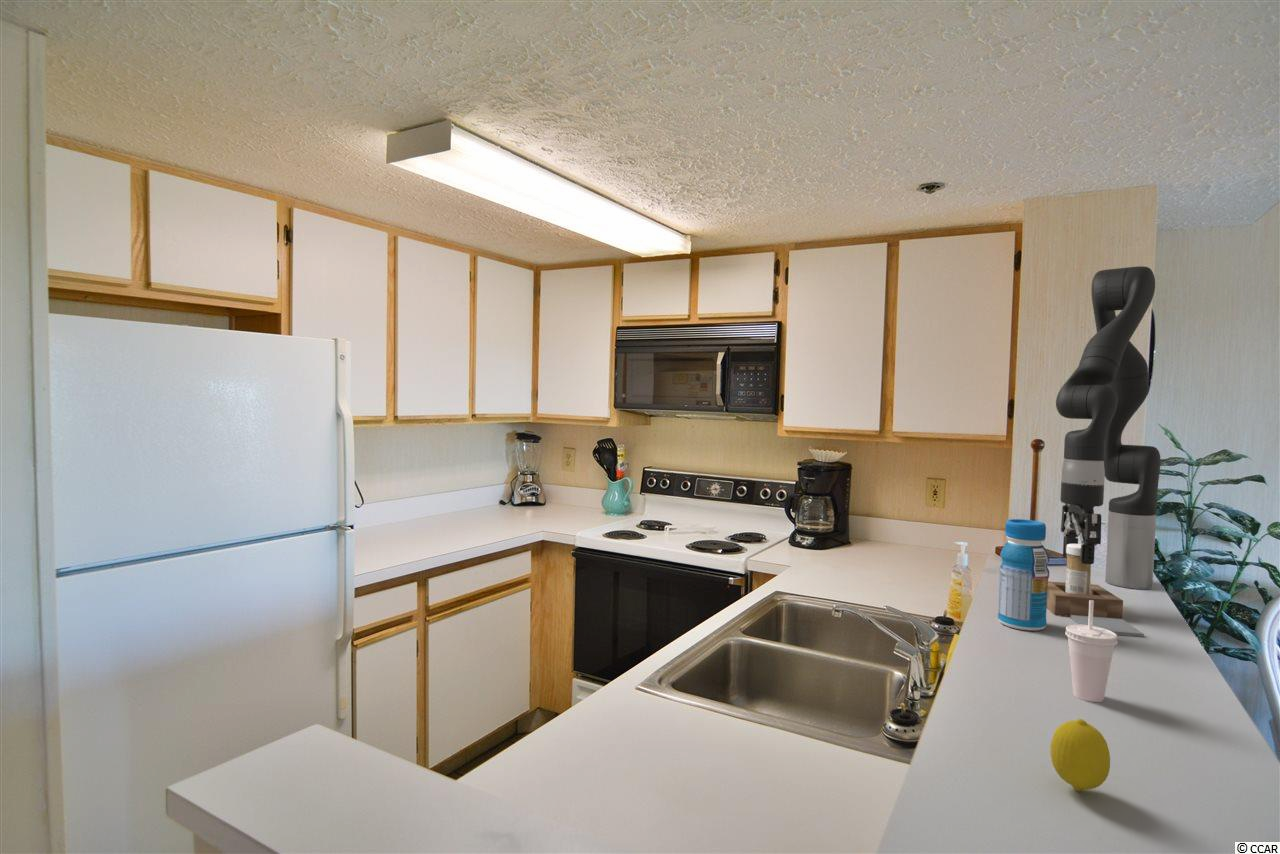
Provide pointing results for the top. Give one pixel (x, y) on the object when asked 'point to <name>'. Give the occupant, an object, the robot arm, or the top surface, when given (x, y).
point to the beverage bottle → (1024, 576)
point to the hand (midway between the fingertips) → (1078, 559)
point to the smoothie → (1090, 658)
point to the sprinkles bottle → (1077, 572)
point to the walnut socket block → (1083, 602)
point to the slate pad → (1110, 625)
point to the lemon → (1080, 755)
